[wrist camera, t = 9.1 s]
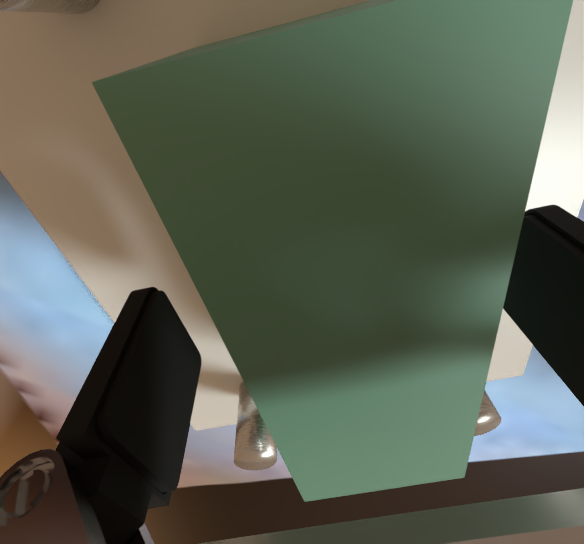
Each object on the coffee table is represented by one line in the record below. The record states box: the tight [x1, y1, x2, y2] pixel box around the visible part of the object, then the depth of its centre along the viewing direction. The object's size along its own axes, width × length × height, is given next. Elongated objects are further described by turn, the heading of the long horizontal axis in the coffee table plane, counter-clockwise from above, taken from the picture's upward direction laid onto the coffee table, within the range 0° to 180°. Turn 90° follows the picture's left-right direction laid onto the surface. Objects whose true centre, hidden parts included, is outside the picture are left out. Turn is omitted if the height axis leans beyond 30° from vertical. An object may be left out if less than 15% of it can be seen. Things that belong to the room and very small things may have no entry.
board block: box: [92, 0, 573, 502], centre depth 9 cm, size 5×12×6 cm, turn 12°
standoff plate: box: [0, 0, 584, 470], centre depth 11 cm, size 18×22×5 cm
